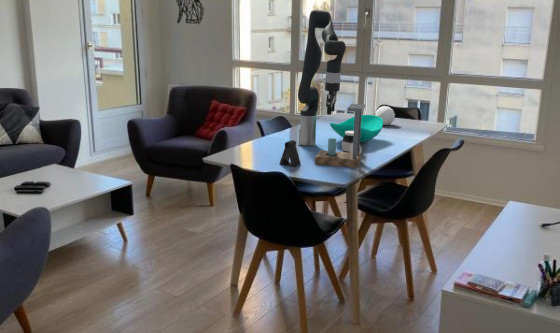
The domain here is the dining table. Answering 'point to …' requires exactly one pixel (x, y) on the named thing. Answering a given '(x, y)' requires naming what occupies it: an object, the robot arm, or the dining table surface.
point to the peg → (331, 147)
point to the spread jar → (348, 142)
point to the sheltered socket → (345, 157)
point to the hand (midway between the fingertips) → (330, 112)
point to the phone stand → (290, 155)
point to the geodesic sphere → (386, 115)
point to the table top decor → (368, 127)
